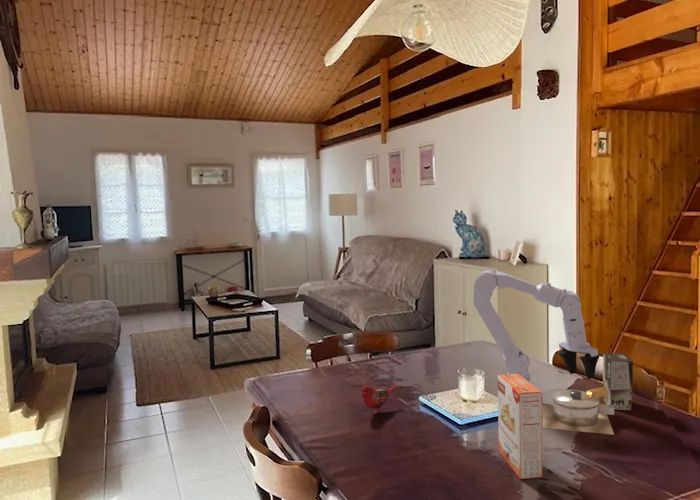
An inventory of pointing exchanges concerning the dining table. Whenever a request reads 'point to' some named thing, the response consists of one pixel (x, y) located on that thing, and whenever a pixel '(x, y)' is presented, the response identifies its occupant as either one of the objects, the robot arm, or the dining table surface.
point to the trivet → (600, 427)
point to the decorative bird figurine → (375, 397)
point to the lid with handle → (579, 398)
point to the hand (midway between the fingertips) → (582, 375)
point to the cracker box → (520, 425)
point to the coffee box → (618, 380)
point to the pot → (580, 414)
